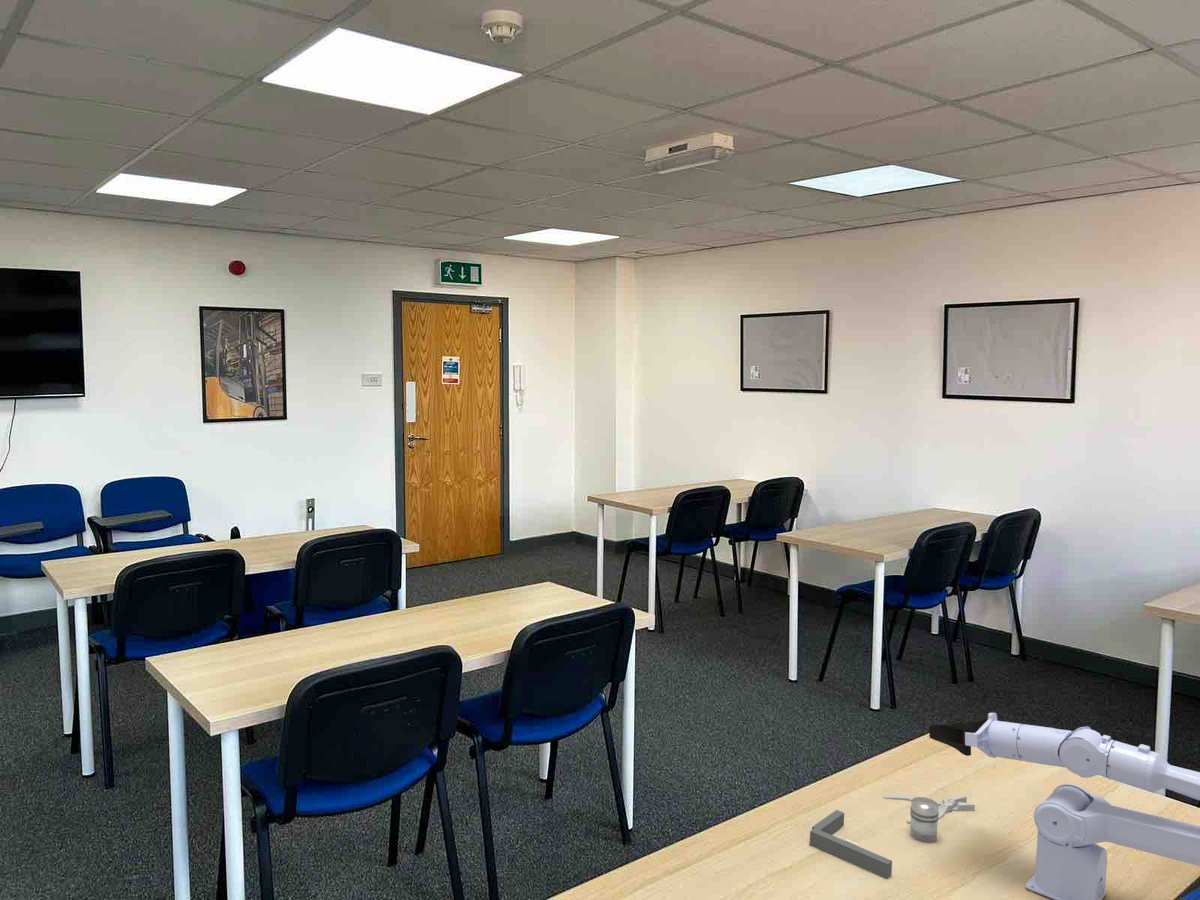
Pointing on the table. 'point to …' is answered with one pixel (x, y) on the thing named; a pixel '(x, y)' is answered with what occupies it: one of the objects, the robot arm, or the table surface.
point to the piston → (924, 819)
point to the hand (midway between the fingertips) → (940, 730)
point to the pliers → (942, 804)
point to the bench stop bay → (847, 846)
